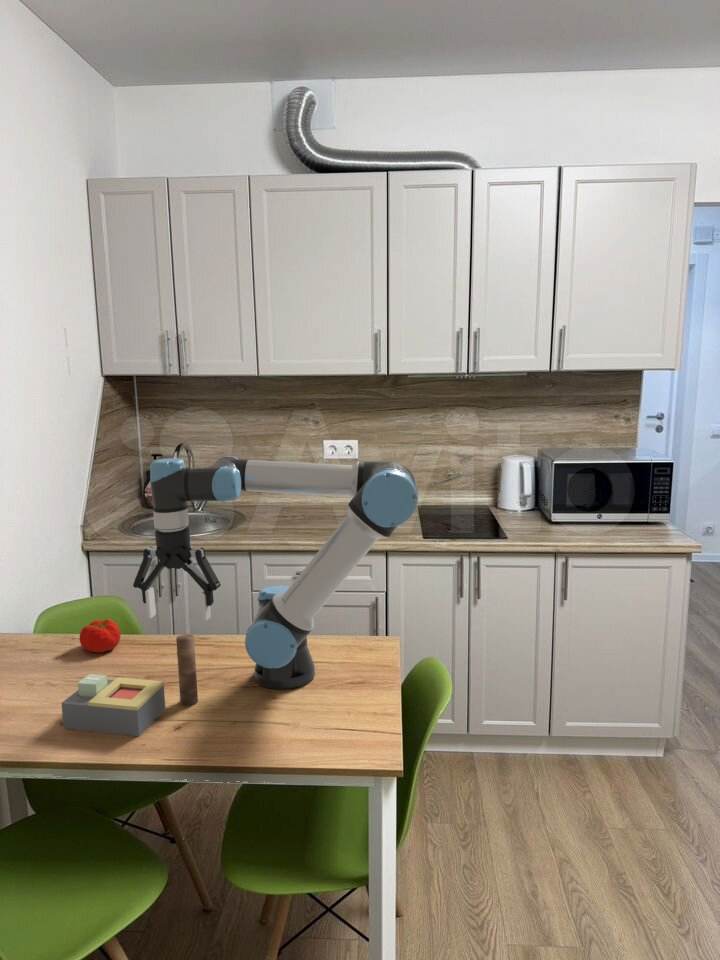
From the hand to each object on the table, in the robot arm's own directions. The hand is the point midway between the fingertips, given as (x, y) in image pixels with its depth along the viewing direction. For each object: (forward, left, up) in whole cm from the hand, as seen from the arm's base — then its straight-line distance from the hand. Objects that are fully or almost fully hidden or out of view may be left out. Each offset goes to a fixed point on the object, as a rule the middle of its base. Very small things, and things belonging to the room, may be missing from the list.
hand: (179, 617), depth 163 cm
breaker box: (+12, +10, -21) cm, 26 cm away
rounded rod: (-1, 0, -21) cm, 21 cm away
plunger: (+9, +10, -17) cm, 22 cm away
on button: (+17, +10, -16) cm, 25 cm away
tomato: (+36, -24, -21) cm, 48 cm away
